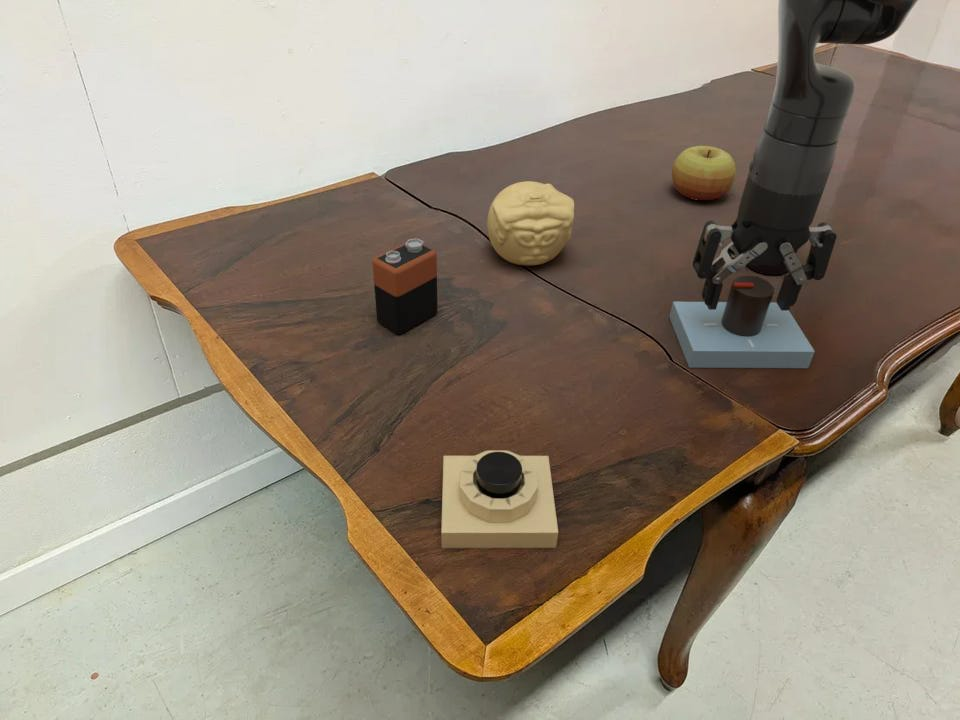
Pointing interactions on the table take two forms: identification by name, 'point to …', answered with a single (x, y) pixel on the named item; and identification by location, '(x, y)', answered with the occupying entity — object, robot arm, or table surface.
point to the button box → (498, 507)
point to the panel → (739, 339)
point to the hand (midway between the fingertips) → (746, 306)
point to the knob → (747, 305)
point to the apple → (703, 172)
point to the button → (498, 474)
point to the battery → (405, 285)
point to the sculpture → (530, 222)
